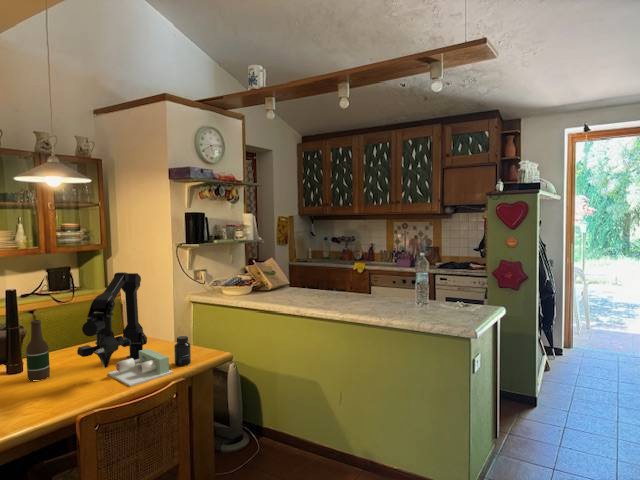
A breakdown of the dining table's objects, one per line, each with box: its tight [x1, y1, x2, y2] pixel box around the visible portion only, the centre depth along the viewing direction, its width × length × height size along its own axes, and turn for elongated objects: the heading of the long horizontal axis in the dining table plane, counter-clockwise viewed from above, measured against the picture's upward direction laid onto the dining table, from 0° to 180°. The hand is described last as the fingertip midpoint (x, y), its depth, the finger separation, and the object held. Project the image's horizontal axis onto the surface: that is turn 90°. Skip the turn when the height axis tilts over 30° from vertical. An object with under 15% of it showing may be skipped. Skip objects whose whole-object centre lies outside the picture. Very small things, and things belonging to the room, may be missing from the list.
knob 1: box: [115, 357, 146, 372], centre depth 183 cm, size 12×4×4 cm, turn 139°
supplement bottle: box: [173, 335, 192, 367], centre depth 193 cm, size 7×7×12 cm
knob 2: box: [138, 360, 157, 373], centre depth 181 cm, size 12×4×4 cm, turn 139°
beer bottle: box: [25, 319, 51, 382], centre depth 178 cm, size 8×8×24 cm
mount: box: [107, 348, 174, 388], centre depth 181 cm, size 20×18×7 cm
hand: (105, 367), depth 175 cm, fingers closed
